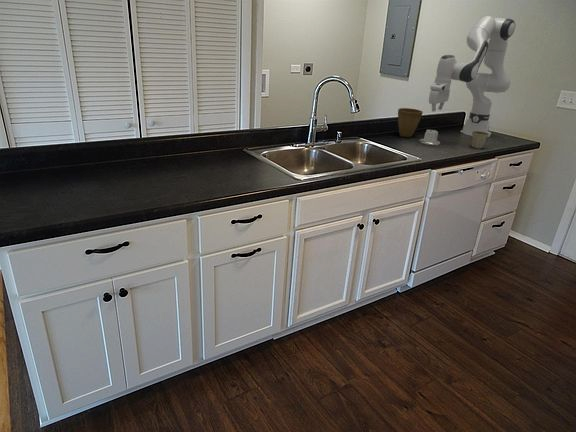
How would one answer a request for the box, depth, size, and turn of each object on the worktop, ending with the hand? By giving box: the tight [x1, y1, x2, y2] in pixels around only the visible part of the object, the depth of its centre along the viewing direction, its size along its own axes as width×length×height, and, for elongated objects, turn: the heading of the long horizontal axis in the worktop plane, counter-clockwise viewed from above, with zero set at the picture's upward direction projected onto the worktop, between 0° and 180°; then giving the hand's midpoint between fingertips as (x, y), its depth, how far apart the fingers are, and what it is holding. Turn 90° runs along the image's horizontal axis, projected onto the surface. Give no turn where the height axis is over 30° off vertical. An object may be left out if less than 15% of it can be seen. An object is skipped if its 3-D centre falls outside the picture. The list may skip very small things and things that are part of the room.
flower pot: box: [470, 131, 489, 149], centre depth 235 cm, size 9×9×9 cm
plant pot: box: [397, 107, 424, 138], centre depth 250 cm, size 15×15×16 cm
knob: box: [423, 129, 439, 143], centre depth 238 cm, size 6×6×7 cm
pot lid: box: [418, 138, 441, 147], centre depth 238 cm, size 12×12×6 cm
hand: (436, 110), depth 232 cm, fingers open, 8 cm apart
